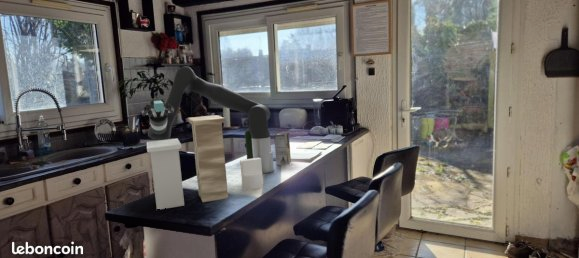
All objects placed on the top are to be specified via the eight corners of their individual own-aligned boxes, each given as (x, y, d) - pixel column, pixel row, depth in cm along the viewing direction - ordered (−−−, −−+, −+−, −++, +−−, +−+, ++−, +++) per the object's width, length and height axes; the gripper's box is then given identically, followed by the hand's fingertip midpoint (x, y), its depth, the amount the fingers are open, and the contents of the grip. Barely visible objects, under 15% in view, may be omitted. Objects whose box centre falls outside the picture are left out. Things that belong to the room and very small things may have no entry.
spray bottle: (268, 158, 228) (265, 115, 224) (253, 161, 222) (249, 117, 218) (258, 156, 236) (255, 115, 233) (243, 159, 230) (240, 117, 227)
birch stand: (195, 192, 166) (187, 117, 162) (223, 188, 170) (216, 115, 166) (201, 204, 150) (193, 121, 146) (232, 199, 154) (225, 118, 150)
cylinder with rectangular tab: (245, 190, 165) (243, 162, 163) (239, 185, 173) (237, 159, 172) (266, 187, 168) (263, 159, 167) (259, 182, 177) (257, 156, 175)
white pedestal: (153, 199, 161) (146, 141, 158) (183, 194, 165) (177, 138, 162) (154, 212, 144) (146, 148, 141) (187, 207, 148) (181, 144, 145)
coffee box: (279, 161, 219) (277, 132, 216) (291, 161, 217) (289, 132, 215) (275, 165, 210) (273, 135, 208) (287, 164, 208) (285, 134, 206)
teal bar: (154, 108, 166) (153, 101, 165) (161, 107, 167) (160, 100, 166) (155, 111, 143) (154, 103, 143) (164, 111, 144) (163, 102, 144)
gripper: (141, 113, 175) (138, 94, 160) (173, 110, 180) (174, 92, 165) (142, 128, 173) (140, 111, 158) (175, 125, 177) (176, 107, 162)
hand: (157, 101), depth 161 cm, fingers closed on teal bar, 3 cm apart
